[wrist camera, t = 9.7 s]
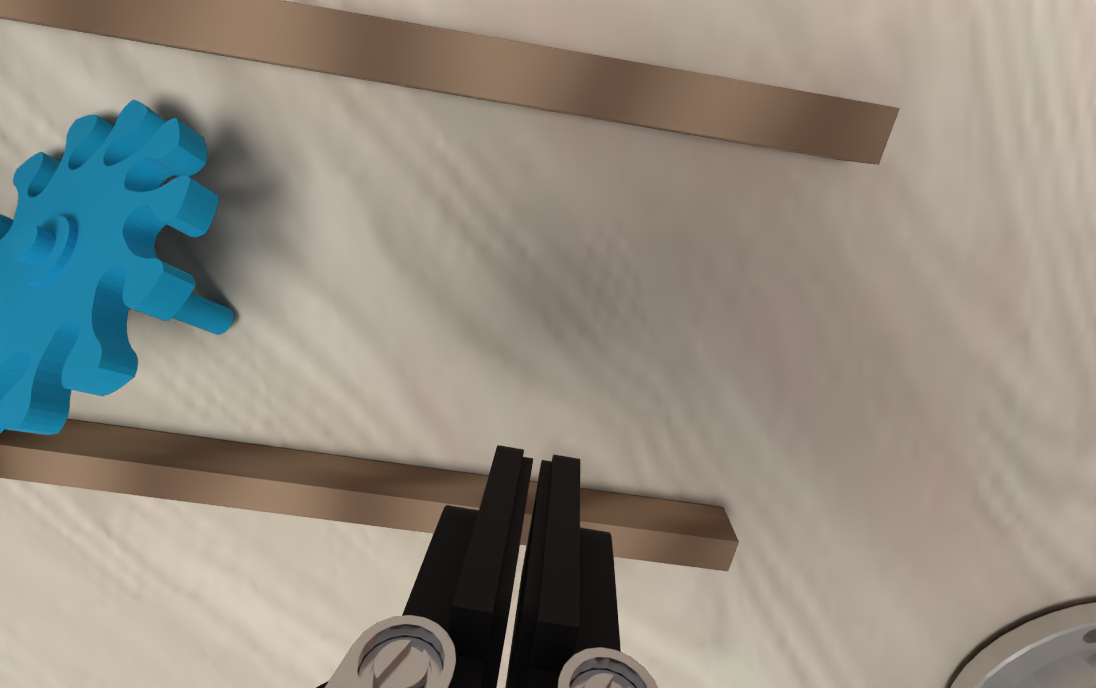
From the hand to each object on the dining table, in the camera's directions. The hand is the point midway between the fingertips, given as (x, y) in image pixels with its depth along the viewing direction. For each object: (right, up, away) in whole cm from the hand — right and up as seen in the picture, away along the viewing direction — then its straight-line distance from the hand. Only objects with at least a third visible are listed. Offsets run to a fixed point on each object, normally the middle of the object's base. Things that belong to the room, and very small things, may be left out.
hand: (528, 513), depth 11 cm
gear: (-13, +7, +8) cm, 17 cm away
